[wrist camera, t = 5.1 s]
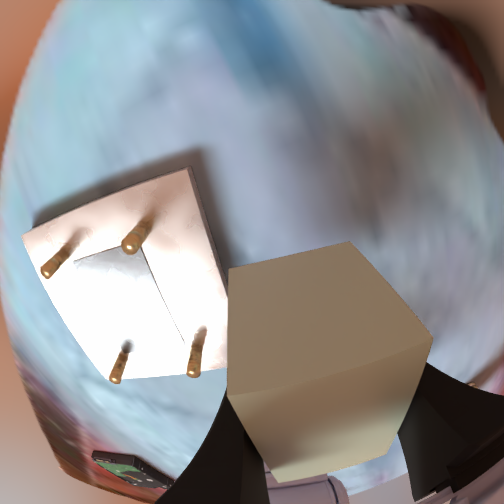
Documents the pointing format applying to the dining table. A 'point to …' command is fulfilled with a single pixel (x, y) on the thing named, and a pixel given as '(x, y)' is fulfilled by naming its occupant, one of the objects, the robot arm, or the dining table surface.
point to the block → (320, 359)
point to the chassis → (138, 279)
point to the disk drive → (132, 470)
